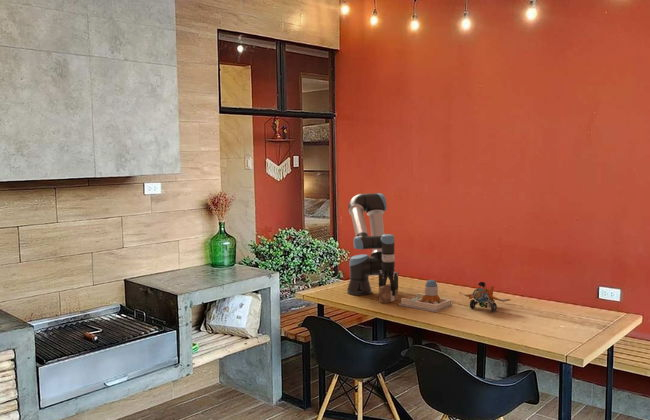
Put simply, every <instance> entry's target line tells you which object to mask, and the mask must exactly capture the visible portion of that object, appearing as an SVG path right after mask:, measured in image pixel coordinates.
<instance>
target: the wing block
mask: <svg viewBox="0 0 650 420" xmlns="http://www.w3.org/2000/svg"><path fill="white" fill-rule="evenodd" d="M391 290H392V289H391V284H390V283H388V284H387V283H386V285H384V286H381V287H379V286H378V303H380V304H389V303H391ZM398 300H399V288H398V289H397V290H395V296H394V301H393V302H395V301H398Z"/></svg>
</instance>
